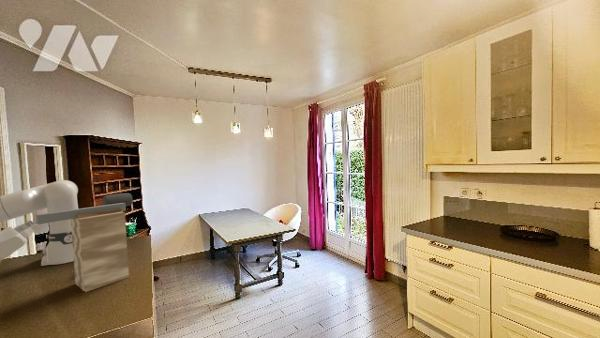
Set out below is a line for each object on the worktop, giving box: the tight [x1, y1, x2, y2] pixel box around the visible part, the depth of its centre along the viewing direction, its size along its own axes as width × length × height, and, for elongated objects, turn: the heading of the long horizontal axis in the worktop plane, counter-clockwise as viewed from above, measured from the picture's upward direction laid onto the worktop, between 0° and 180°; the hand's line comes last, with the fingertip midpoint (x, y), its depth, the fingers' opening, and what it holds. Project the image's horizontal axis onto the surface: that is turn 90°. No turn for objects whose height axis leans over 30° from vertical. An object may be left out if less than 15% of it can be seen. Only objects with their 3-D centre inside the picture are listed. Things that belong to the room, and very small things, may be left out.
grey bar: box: [35, 203, 127, 225], centre depth 99 cm, size 3×26×3 cm, turn 143°
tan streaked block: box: [71, 209, 130, 293], centre depth 103 cm, size 12×14×27 cm
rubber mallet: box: [101, 192, 133, 207], centre depth 143 cm, size 12×8×30 cm, turn 142°
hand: (35, 223), depth 88 cm, fingers open, 8 cm apart
